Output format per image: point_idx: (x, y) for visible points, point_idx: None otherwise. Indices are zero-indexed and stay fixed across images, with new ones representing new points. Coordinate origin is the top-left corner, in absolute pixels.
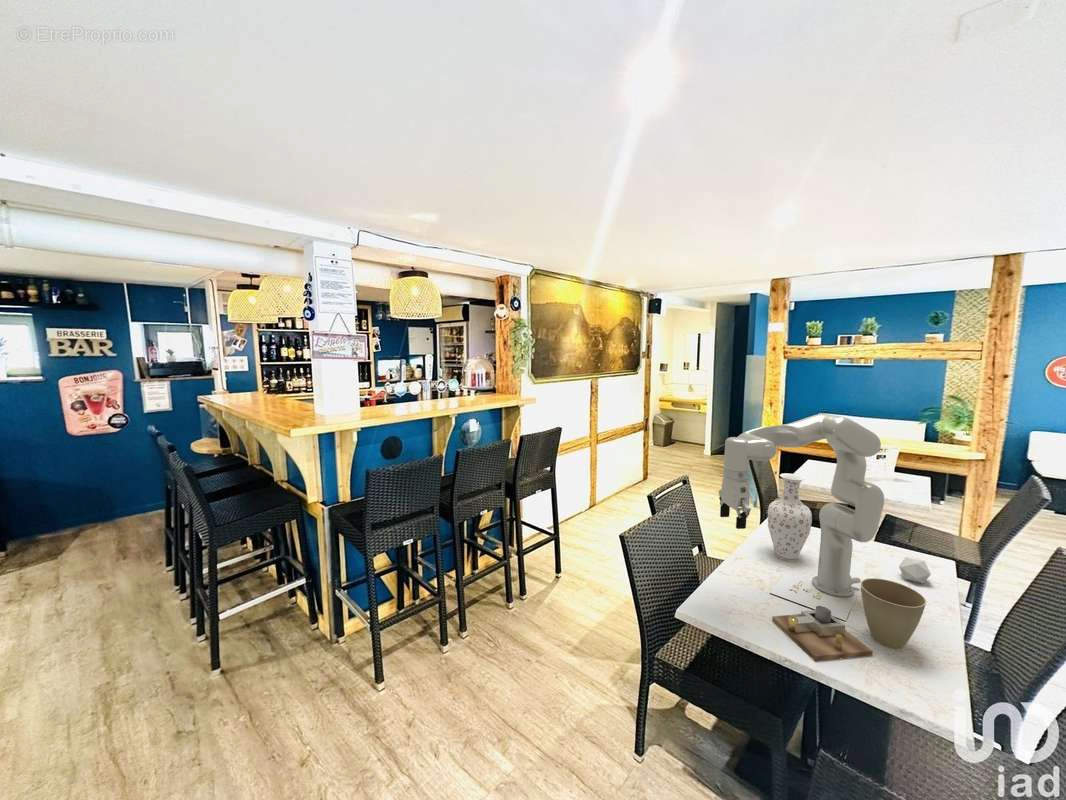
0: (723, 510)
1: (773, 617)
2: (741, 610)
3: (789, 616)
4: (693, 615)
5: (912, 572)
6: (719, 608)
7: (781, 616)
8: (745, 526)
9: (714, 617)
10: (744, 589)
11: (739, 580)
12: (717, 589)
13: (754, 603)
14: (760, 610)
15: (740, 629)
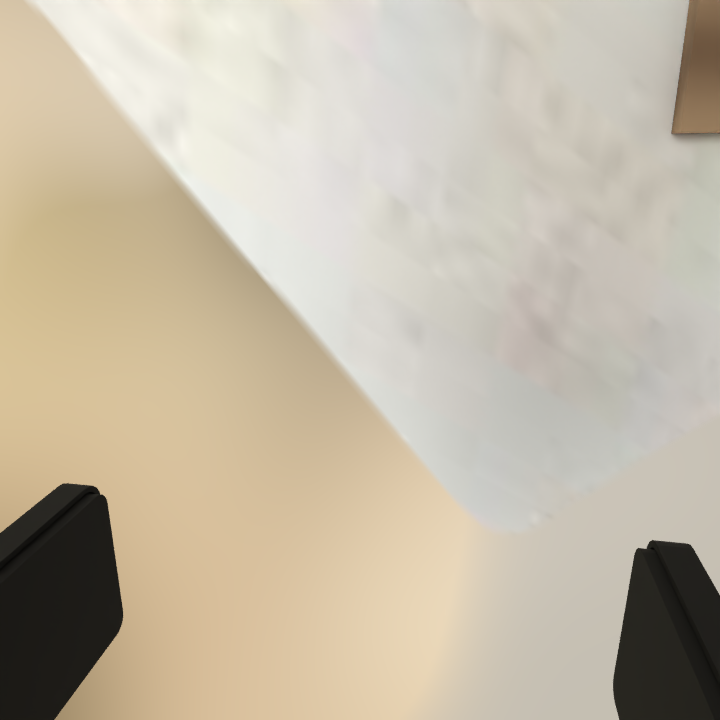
0: (36, 705)
1: (689, 131)
2: (540, 255)
3: (712, 11)
4: (529, 514)
5: None
6: (500, 363)
7: (697, 70)
8: (699, 572)
9: (566, 430)
10: (344, 102)
11: (243, 71)
12: (329, 272)
13: (492, 132)
14: (564, 140)
15: (689, 361)
